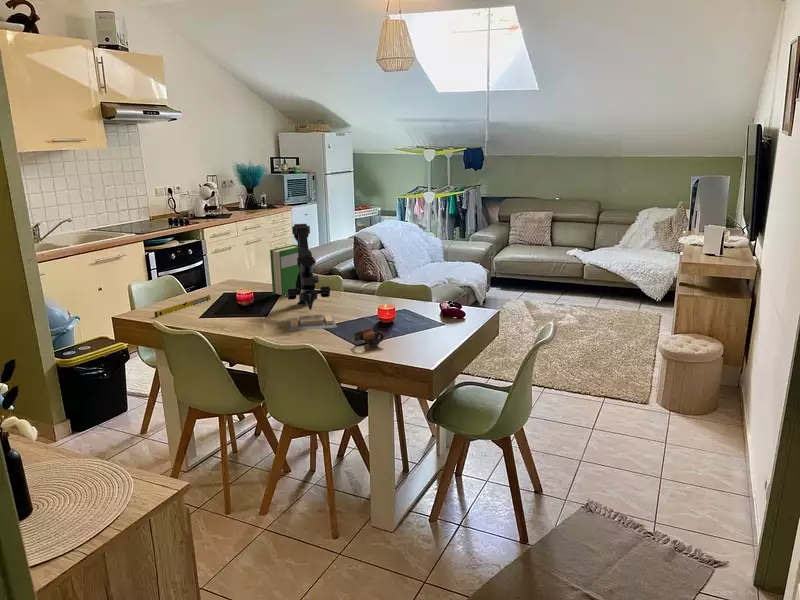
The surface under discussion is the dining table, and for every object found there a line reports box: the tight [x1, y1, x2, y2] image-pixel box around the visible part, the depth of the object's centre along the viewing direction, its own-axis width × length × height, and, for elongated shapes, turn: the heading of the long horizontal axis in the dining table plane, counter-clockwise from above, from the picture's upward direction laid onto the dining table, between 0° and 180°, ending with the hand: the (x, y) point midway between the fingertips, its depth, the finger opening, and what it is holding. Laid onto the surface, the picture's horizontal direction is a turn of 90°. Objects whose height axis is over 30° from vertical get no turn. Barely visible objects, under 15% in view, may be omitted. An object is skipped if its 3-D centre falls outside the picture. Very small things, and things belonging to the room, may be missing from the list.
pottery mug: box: [353, 328, 385, 351], centre depth 238 cm, size 12×10×8 cm
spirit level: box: [154, 294, 211, 318], centre depth 294 cm, size 33×1×3 cm, turn 152°
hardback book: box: [269, 244, 300, 297], centre depth 319 cm, size 18×7×24 cm, turn 147°
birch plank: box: [298, 314, 324, 326], centre depth 265 cm, size 2×10×8 cm
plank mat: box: [287, 314, 338, 332], centre depth 265 cm, size 19×20×3 cm
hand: (310, 309), depth 266 cm, fingers closed
